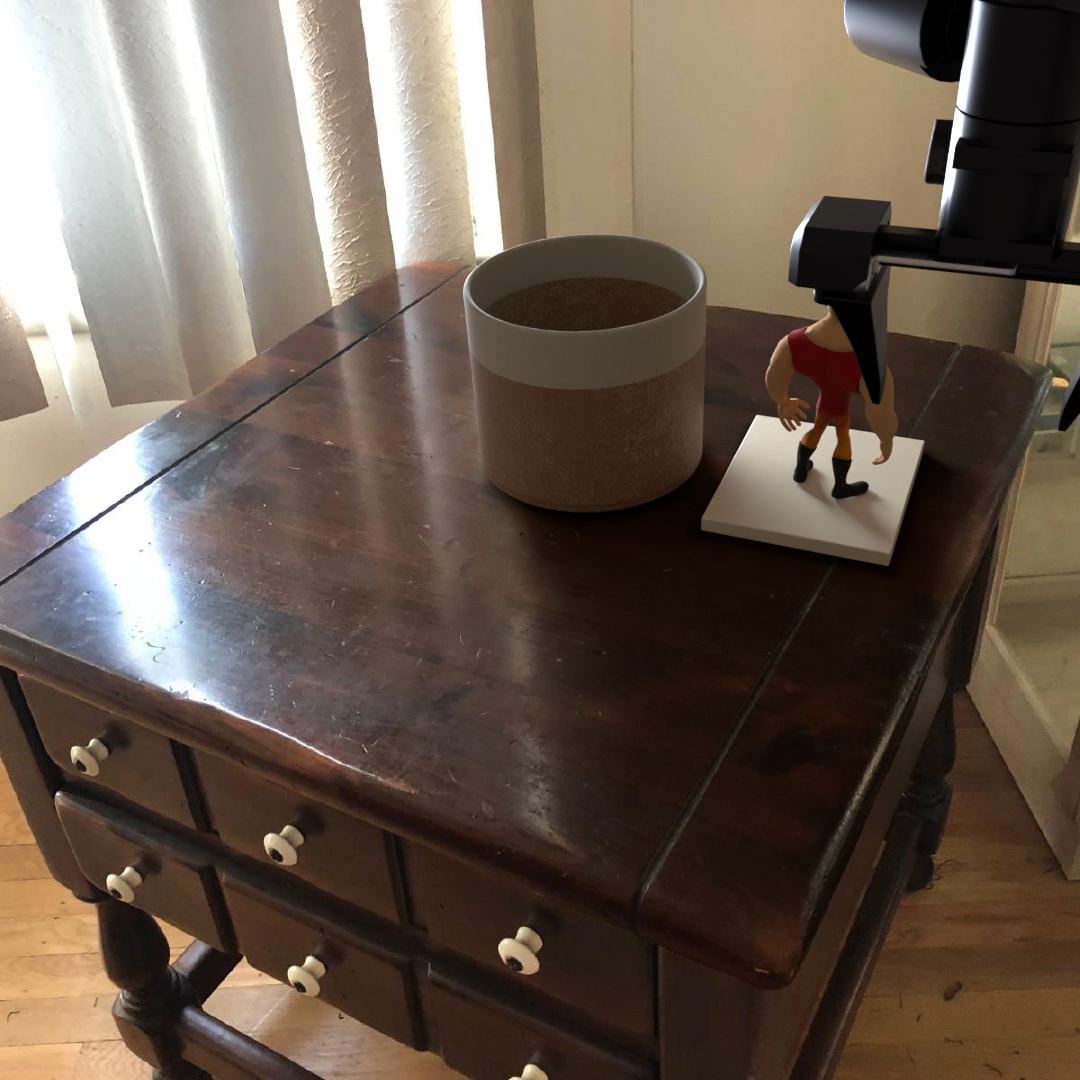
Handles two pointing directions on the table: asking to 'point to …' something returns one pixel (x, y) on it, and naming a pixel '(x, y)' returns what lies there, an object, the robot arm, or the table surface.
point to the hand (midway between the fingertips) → (967, 413)
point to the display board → (814, 493)
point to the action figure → (829, 397)
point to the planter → (588, 369)
